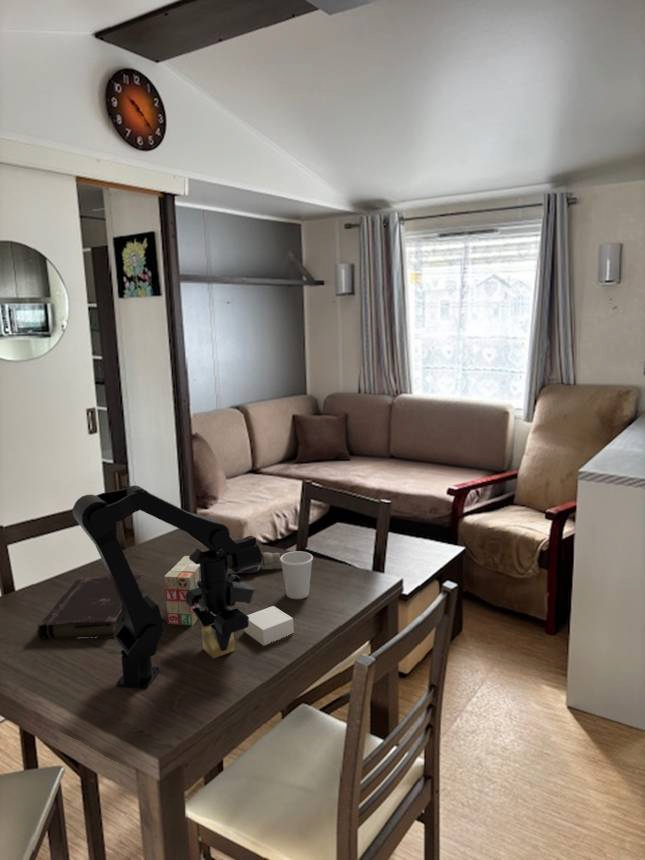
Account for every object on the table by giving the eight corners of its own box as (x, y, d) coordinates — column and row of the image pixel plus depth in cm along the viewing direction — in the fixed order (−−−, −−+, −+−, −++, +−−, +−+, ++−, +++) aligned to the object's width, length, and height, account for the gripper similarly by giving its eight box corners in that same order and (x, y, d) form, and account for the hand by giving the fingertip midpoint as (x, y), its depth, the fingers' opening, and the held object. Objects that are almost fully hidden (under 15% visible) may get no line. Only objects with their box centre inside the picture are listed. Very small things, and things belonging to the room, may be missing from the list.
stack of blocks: (200, 585, 170) (197, 541, 168) (223, 587, 169) (220, 543, 166) (167, 624, 149) (163, 575, 147) (192, 626, 148) (189, 577, 146)
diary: (37, 644, 143) (34, 623, 142) (76, 594, 168) (74, 576, 167) (120, 639, 144) (118, 619, 143) (147, 591, 168) (146, 573, 167)
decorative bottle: (194, 583, 171) (193, 559, 170) (194, 572, 179) (192, 550, 178) (289, 572, 177) (288, 549, 176) (285, 562, 184) (284, 540, 183)
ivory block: (293, 634, 144) (293, 618, 143) (263, 646, 139) (263, 630, 138) (274, 621, 150) (273, 605, 149) (244, 632, 145) (243, 616, 144)
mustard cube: (234, 650, 137) (233, 629, 136) (213, 658, 134) (211, 636, 133) (223, 641, 141) (222, 620, 140) (203, 648, 138) (201, 627, 137)
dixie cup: (317, 588, 166) (316, 552, 164) (308, 603, 158) (307, 565, 156) (287, 585, 168) (286, 549, 166) (276, 599, 160) (275, 562, 158)
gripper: (269, 582, 131) (272, 651, 134) (228, 554, 146) (231, 617, 149) (221, 597, 125) (225, 669, 128) (182, 567, 140) (187, 632, 143)
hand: (218, 645), depth 137 cm, fingers closed on mustard cube, 5 cm apart
